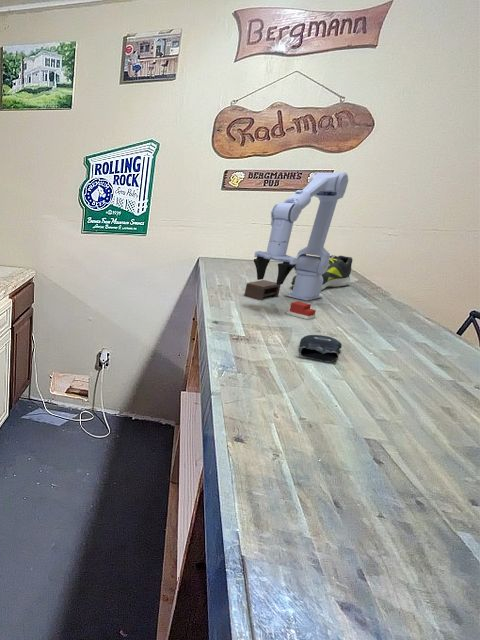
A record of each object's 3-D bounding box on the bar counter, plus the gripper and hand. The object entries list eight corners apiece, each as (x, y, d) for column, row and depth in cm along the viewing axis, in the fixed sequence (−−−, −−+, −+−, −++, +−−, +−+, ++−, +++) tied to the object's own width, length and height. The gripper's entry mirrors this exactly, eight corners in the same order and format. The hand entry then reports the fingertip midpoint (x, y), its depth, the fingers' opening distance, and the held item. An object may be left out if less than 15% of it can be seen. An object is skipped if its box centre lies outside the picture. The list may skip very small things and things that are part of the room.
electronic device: (339, 369, 116) (341, 344, 126) (341, 350, 113) (344, 325, 124) (295, 365, 121) (301, 341, 132) (297, 347, 119) (303, 324, 129)
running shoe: (280, 287, 187) (288, 256, 182) (326, 279, 198) (334, 250, 193) (307, 293, 177) (315, 261, 172) (353, 285, 189) (362, 254, 184)
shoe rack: (260, 292, 180) (263, 279, 178) (277, 296, 174) (281, 283, 172) (244, 295, 176) (246, 282, 174) (260, 300, 170) (263, 286, 168)
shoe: (286, 313, 154) (289, 302, 153) (293, 312, 156) (296, 300, 154) (307, 319, 148) (310, 307, 147) (314, 317, 150) (318, 305, 149)
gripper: (251, 238, 155) (243, 278, 160) (290, 245, 143) (279, 287, 148) (266, 237, 157) (258, 276, 163) (306, 243, 145) (295, 285, 150)
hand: (269, 281), depth 155 cm, fingers open, 7 cm apart
